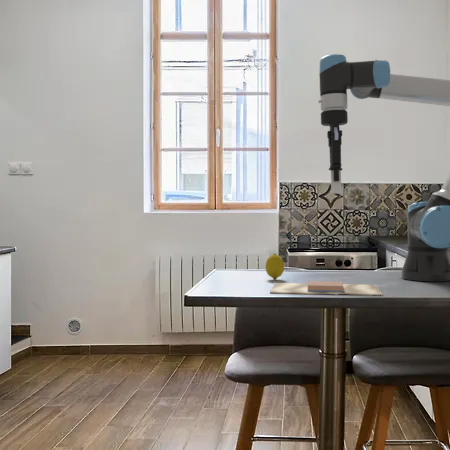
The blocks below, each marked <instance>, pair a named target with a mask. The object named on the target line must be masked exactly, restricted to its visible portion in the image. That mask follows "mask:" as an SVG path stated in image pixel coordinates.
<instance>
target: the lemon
mask: <svg viewBox="0 0 450 450" xmlns="http://www.w3.org/2000/svg"><path fill="white" fill-rule="evenodd" d="M284 270H285V263H284V260H283V258H282V257H281V256H280V255H278V254H277V253H273V254H271V255H270V256H269V257H267V260H266V262H265V272H266V274H267V276H269V277H270V278H272V280H277V279H278V278H279V277H282V275H283V273H284Z"/></svg>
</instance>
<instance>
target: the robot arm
mask: <svg viewBox="0 0 450 450" xmlns="http://www.w3.org/2000/svg"><path fill="white" fill-rule="evenodd" d="M318 75H319V91H320V93H319V96H320V99H318V104H320V110H321V111H322V112H321V113H320V124H321V126H323V127H329V130H327V132H326V134H327V136H326V137H327V139H328V141H327V143H328V144H327V145H328V147H329V167H328V171H330V189H331V190H330V192H331V194H333V195H334V194H342V171H343V168H342V154H341V153H342V137H343V130H340V126H345V125H347V124H348V122H349V121H348V111H347V110H348V94H347V93H348V90H350V93H351V95H352V96H353V97H355V98H356V99H359V100H364V99H369V98H372V99H383V100H390V101H401V102H410V103H417V104H428V105H434V106H436V105H437V106H442V107H443V106H445V107H450V79H443V78H433V77H422V76H414V75H403V74H394V73H393V74H392V73H391V66H390V63H389V61H388V60H386V59H385V60H381V59H380V60H378V59H375V60H365V61H353V62H351V61H348V60H347V57H346V56H345V55H344V54H338V53H336V54H335V53H334V54H328V55H325V56H323V57H321V58H320V60H319V73H318ZM406 216H407V255H406V257H405V260H404V263H403V266H402V269H401V279H403V280H409V281H418V282H449V281H450V257H449V256H450V255H449V248H450V172H449V173H448V176H447V177H446V179H445V181H444V183H443V184H442V187H441V189H440V190H438V191H435V192H432V194H431V195H430V198H429V199H428V201H420V202H414V203H411V204H409V206H408V207H407V214H406Z"/></svg>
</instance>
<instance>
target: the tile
mask: <svg viewBox="0 0 450 450" xmlns="http://www.w3.org/2000/svg"><path fill="white" fill-rule="evenodd" d="M307 284H308V292H343V284H344V283H343V281H330V280H329V281H327V280H326V281H325V280H324V281H322V280H317V281H316V280H308V281H307Z"/></svg>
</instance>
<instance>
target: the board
mask: <svg viewBox="0 0 450 450" xmlns="http://www.w3.org/2000/svg"><path fill="white" fill-rule="evenodd" d="M269 294H270V295H271V294H276V295H278V294H279V295H280V294H282V295H320V294H335V295H336V296H339V295H338V294H348V295H347V296H372V295H377V296H378V295H379V296H380V295H381V297H382V296H384V294H383V292H382V291H381V290H380V289H379V287H378V286H377V284H359V283H358V284H353V283H352V284H351V283H350V284H349V283H348V284H347V283H343V292H308V283H301V282H300V283H299V282H298V283H297V282H294V283H293V282H292V283H289V282H288V283H287V282H275V283H274V285H273V286H272V288H271V290H270V292H269ZM349 294H350V295H349ZM335 295H334V296H335ZM377 296H376V297H377ZM379 296H378V297H379Z"/></svg>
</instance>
